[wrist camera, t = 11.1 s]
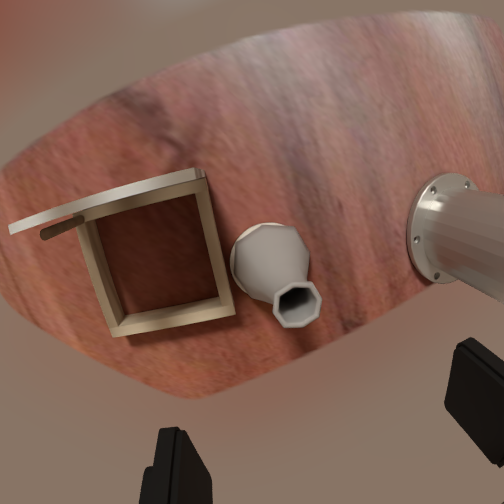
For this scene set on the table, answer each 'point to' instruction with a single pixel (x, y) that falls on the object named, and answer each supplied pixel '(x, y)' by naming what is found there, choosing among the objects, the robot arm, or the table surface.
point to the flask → (278, 273)
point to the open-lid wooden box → (98, 262)
